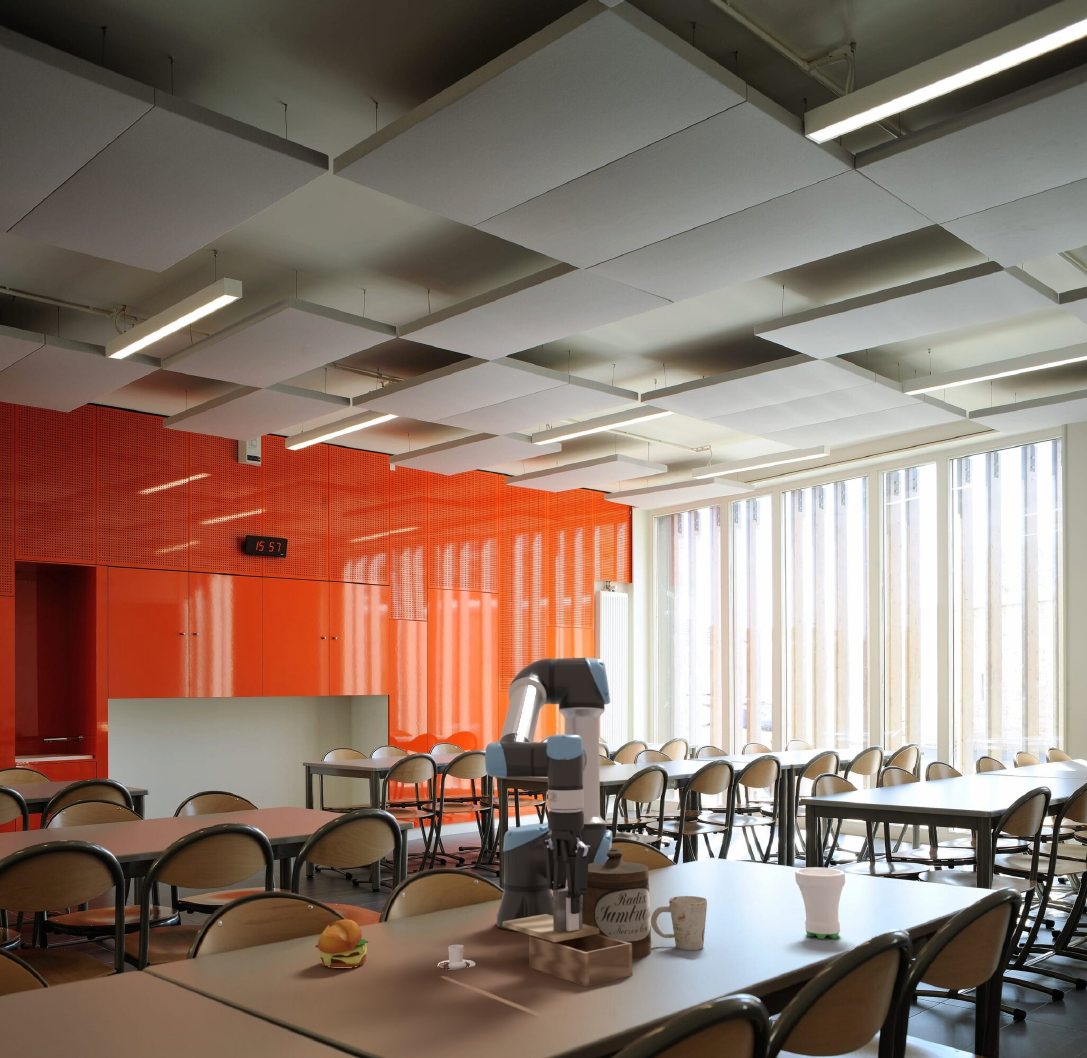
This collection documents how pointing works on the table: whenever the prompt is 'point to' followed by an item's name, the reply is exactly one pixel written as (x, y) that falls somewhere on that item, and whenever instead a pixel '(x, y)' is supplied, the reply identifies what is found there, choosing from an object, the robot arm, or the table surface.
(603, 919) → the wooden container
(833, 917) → the cup
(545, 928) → the lid
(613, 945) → the box
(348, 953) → the cheeseburger
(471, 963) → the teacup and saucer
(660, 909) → the mug
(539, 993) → the table surface
